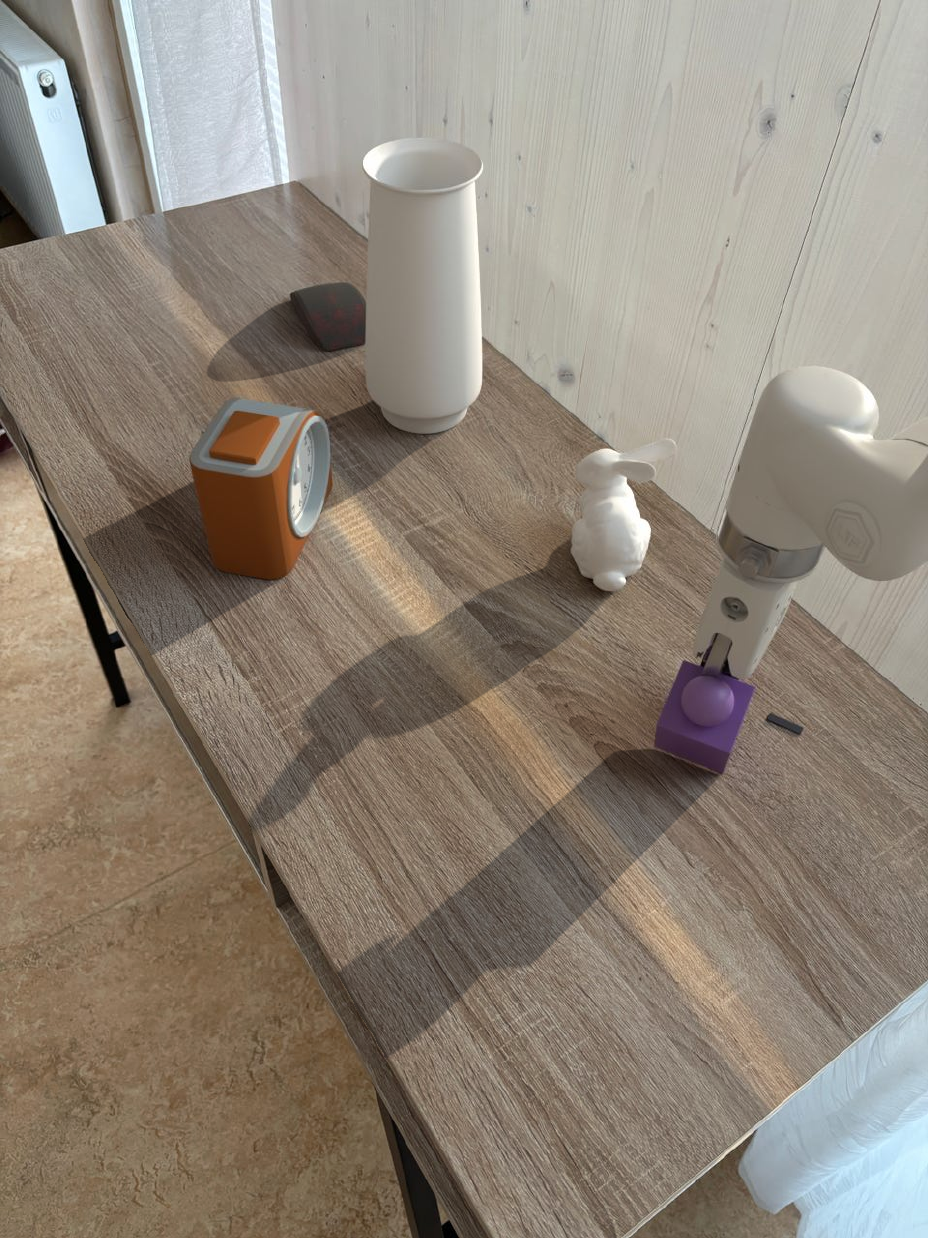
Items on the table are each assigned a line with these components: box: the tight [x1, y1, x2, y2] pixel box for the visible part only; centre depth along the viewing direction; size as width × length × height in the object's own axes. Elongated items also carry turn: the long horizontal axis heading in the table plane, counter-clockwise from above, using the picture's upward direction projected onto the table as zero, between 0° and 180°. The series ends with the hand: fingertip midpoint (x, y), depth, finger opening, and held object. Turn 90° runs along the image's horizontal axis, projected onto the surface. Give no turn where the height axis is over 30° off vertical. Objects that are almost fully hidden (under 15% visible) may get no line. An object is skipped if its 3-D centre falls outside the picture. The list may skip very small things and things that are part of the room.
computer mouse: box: [289, 281, 366, 352], centre depth 127 cm, size 8×14×4 cm, turn 23°
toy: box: [653, 659, 756, 775], centre depth 81 cm, size 6×6×9 cm
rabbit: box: [570, 437, 678, 592], centre depth 96 cm, size 12×9×12 cm
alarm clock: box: [188, 397, 334, 581], centre depth 97 cm, size 15×8×14 cm, turn 167°
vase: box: [361, 137, 484, 435], centre depth 106 cm, size 13×13×28 cm
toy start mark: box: [766, 712, 805, 735], centre depth 87 cm, size 3×1×1 cm, turn 59°
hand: (714, 685), depth 86 cm, fingers closed
